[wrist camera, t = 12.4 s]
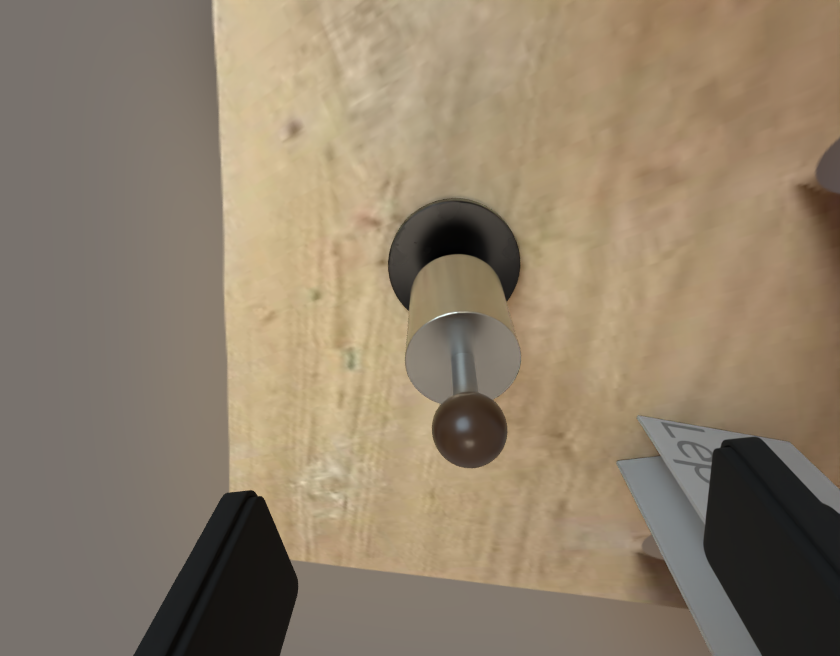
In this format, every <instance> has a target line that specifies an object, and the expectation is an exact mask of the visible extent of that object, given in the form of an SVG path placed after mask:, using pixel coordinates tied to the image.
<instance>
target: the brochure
mask: <svg viewBox="0 0 840 656" xmlns="http://www.w3.org/2000/svg"><path fill="white" fill-rule="evenodd" d="M637 419H638V421H639V422H640V424H641V425H642V427H643V429H644V430H645V432H646V433H647V435H648V436H649V438H650V440H651V441H652V443H653V444H654V446H655V447H656V449H657V450H658V452H659V454H660V455H661V456H657V457H648V458H639V459H630V460H620V461H617V463H616V464H617V466H618V468H619V470H620V472H621V474H622V476H623V478H624V480H625V482H626V484H627V486H628V488H629V490H630V492H631V494H632V496H633V498H634V500H635V502H636V504H637V506H638V508H639V510H640V512H641V514H642V516H643V518H644V520H645V522H646V524H647V526H648V528H649V530H650V532H651V534H652V536H653V538H654V540H655V542H656V544H657V546H658V548H659V550H660V552H661V554H662V556H663V558H664V560H665V562H666V564H667V566H668V568H669V570H670V572H671V574H672V576H673V578H674V580H675V582H676V584H677V586H678V588H679V590H680V592H681V594H682V596H683V598H684V600H685V602H686V604H687V606H688V608H689V610H690V612H691V614H692V616H693V618H694V620H695V622H696V624H697V626H698V628H699V630H700V632H701V634H702V636H703V638H704V640H705V642H706V644H707V646H708V648H709V650H710V652H711V654H712V656H762V655H761V653H760V651H759V650H758V648H757V646H756V645H755V643H754V641H753V639H752V638H751V636H750V634H749V632H748V631H747V629H746V627H745V625H744V624H743V622H742V620H741V618H740V617H739V615H738V613H737V611H736V610H735V608H734V606H733V605H732V603H731V601H730V599H729V598H728V596H727V594H726V592H725V591H724V589H723V587H722V585H721V584H720V582H719V580H718V578H717V577H716V575H715V573H714V571H713V570H712V568H711V566H710V565H709V563H708V561H707V558H706V556H705V552H704V547H703V539H704V530H705V520H706V511H707V502H708V492H709V483H710V474H711V464H712V455H713V451H714V449H716V448H720V447H721V443H722V442H723V440H727V439H736V438H745V437H754V436H753V435H747V434H741V433H736V432H730V431H724V430H719V429H713V428H707V427H701V426H696V425H690V424H684V423H679V422H673V421H667V420H662V419H656V418H650V417H644V416H639V415H638V416H637ZM756 437H759V436H756ZM759 438H761V439H762V440H763V441H764V442H765V443H766V444H767V445H768V446H769V447H770V448H771V449H772V450H773V451H774V452H775V454H776V455H777V456H778V457H779V458H780V459H781V460H782V461H783V462H784V463H785V464H786V465H787V466H788V467H789V468H790V469H791V471H792V472H793V473H794V474H795V475H796V476H797V477H798V478H799V479H800V480H801V481H802V482H803V483H804V484H805V485H806V486H807V488H808V489H809V490H810V491H811V492H812V493H813V494H814V495H815V496H816V497H817V498H818V499H819V500H820V501H821V502H822V503H824V504H826V505H828V506H830V507H832V508H833V509H834V510H836V511H837V512H838V513H839V514H840V490H839V489H838V488H837V487H836V486H835V485H834V484H833V483H832V482H831V481H830V480H829V479H828V478H827V477H826V476H825V475H824V474H823V473H822V472H821V471H820V470H818V469H817V468H816V467H815V466H814V465H813V464H812V463H811V462H810V461H809V460H808V459H807V458H806V457H805V456H804V455H803V454H802V453H801V452H800V451H799V450H797V449H796V448H795V447H794V446H793V445H792V444H791V443H790V442H787V441H781V440H776V439H770V438H764V437H759Z"/></svg>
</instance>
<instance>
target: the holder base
mask: <svg viewBox="0 0 840 656" xmlns="http://www.w3.org/2000/svg"><path fill="white" fill-rule="evenodd" d="M454 254H463V255H469V256H473V257H476V258H478V259H480V260H482V261H484V262H485V263H487V264H488V265H489V266H490V267H491V268H492V269H493V270H494V271H495V273H496V274H497V275H498V277H499V279H500V282H501V285H502V288H503V292H504V295H505V299H506V302H507V300H508V299H509V298H510V296H511V294H512V293H513V291H514V289H515V286H516V284H517V281H518V277H519V272H520V254H519V249H518V245H517V242H516V240H515V238H514V235H513V233H512V232H511V230H510V228H509V227H508V225H507V224H506V222H505V221H504V220H503V219H502V218H501V217H500V216H499V215H498V214H497V213H496V212H494V211H493V210H492V209H490V208H488V207H487V206H485V205H483V204H481V203H478V202H475V201H472V200H467V199H459V198H451V199H443V200H438V201H435V202H432V203H429V204H427V205H425V206H423V207H421V208H419V209H418V210H417V211H415V212H414V213H413V214H411V215H410V216H409V217H408V218H407V219H406V220H405V221H404V223H403V224H402V225H401V227H400V228H399V230H398V232H397V233H396V235H395V238H394V240H393V242H392V245H391V249H390V253H389V260H388V271H389V278H390V281H391V285H392V287H393V290H394V292H395V294H396V296H397V297H398V299H399V300H400V302H401V303H402V304H403V306H404V307H405V308H406V309H407V310H408V311H409V306H410V295H411V288H412V285H413V282H414V280H415V278H416V276H417V275H418V273H419V272H420V271H421V270H422V269H423V268H424V267H425V266H426V265H427V264H429V263H430V262H432V261H433V260H435V259H437V258H440V257H443V256H447V255H454Z"/></svg>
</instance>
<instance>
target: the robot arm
mask: <svg viewBox="0 0 840 656" xmlns="http://www.w3.org/2000/svg"><path fill="white" fill-rule="evenodd" d="M703 547H704V552H705V556H706V558H707V561H708V563H709V565H710V566H711V568H712V570H713V571H714V573H715V575H716V577H717V578H718V580H719V582H720V584H721V585H722V587H723V589H724V591H725V592H726V594H727V596H728V598H729V599H730V601H731V603H732V605H733V606H734V608H735V610H736V611H737V613H738V615H739V617H740V618H741V620H742V622H743V624H744V625H745V627H746V629H747V631H748V632H749V634H750V636H751V638H752V639H753V641H754V643H755V645H756V646H757V648H758V650H759V651H760V653H761V655H762V656H840V514H839V513H838V512H837V511H836V510H834V509H833V508H832V507H830V506H828V505H826V504H824V503H822V502H821V501H820V500H819V499H818V498H817V497H816V496H815V495H814V494H813V493H812V492H811V491H810V490H809V489H808V488H807V486H806V485H805V484H804V483H803V482H802V481H801V480H800V479H799V478H798V477H797V476H796V475H795V474H794V473H793V472H792V471H791V469H790V468H789V467H788V466H787V465H786V464H785V463H784V462H783V461H782V460H781V459H780V458H779V457H778V456H777V455H776V454H775V452H774V451H773V450H772V449H771V448H770V447H769V446H768V445H767V444H766V443H765V442H764V441H763V440H762V439H761V438H759V437H756V436H754V437H745V438H736V439H727V440H723V442H722V443H721V447H720V448H716V449H714V451H713V455H712V464H711V474H710V483H709V492H708V502H707V511H706V520H705V530H704V539H703ZM297 593H298V579H297V576H296V573H295V571H294V569H293V566H292V564H291V561H290V559H289V557H288V554H287V552H286V550H285V547H284V545H283V542H282V540H281V538H280V535H279V533H278V531H277V528H276V526H275V523H274V521H273V519H272V516H271V514H270V512H269V509H268V507H267V504H266V502H265V500H264V498H263V497H262V496H257V494H256V493H255V492H254V491H252V490H249V491H240V492H231V493H226V494H224V495H223V497H222V498H221V500H220V501H219V503H218V505H217V507H216V509H215V511H214V512H213V514H212V516H211V518H210V519H209V521H208V523H207V525H206V527H205V528H204V530H203V532H202V534H201V536H200V537H199V539H198V541H197V543H196V545H195V547H194V548H193V550H192V552H191V554H190V556H189V557H188V559H187V561H186V563H185V564H184V566H183V568H182V570H181V571H180V573H179V574H178V577H177V578H176V580H175V582H174V583H173V585H172V587H171V589H170V591H169V592H168V594H167V596H166V598H165V600H164V601H163V603H162V605H161V607H160V609H159V611H158V612H157V614H156V616H155V618H154V619H153V621H152V623H151V625H150V627H149V629H148V630H147V632H146V634H145V636H144V638H143V639H142V641H141V643H140V645H139V646H138V648H137V650H136V652H135V654H134V655H133V656H280V653H281V649H282V646H283V642H284V639H285V635H286V631H287V629H288V625H289V622H290V618H291V615H292V611H293V608H294V605H295V601H296V598H297Z"/></svg>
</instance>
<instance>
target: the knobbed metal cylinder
mask: <svg viewBox="0 0 840 656" xmlns="http://www.w3.org/2000/svg"><path fill="white" fill-rule="evenodd" d="M520 364H521V351H520V346H519V343H518V340H517V336H516V333H515V329H514V326H513V322H512V319H511V316H510V312H509V309H508V305H507V302H506V299H505V295H504V292H503V288H502V285H501V282H500V279H499V277H498V275H497V274H496V273H495V271H494V270H493V269H492V268H491V267H490V266H489V265H488V264H487V263H485V262H484V261H482V260H480V259H478V258H476V257H473V256H469V255H463V254H454V255H447V256H443V257H440V258H437V259H435V260H433V261H432V262H430V263H429V264H427V265H426V266H425V267H424V268H423V269H422V270H421V271H420V272H419V273H418V275H417V276H416V278H415V280H414V282H413V285H412V288H411V295H410V306H409V318H408V329H407V341H406V352H405V366H406V371H407V374H408V377H409V379H410V381H411V382H412V384H413V385H414V387H415V388H416V389H417V390H418V391H419V392H420V393H422V394H423V395H424V396H425V397H427V398H429V399H430V400H432V401H434V402H437V403H440V404H441V405H440V406H439V408H438V409H437V411H436V413H435V415H434V418H433V422H432V435H433V440H434V443H435V445H436V447H437V449H438V451H439V452H440V453H441V455H442V456H443V457H444V458H445V459H446V460H448V461H449V462H451V463H452V464H454V465H457V466H459V467H463V468H478V467H482V466H484V465H486V464H488V463H490V462H492V461H493V460H494V459H495V458H496V457H497V456H498V455H499V454H500V452H501V451H502V449H503V447H504V445H505V443H506V439H507V423H506V419H505V416H504V414H503V412H502V410H501V408H500V407H499V406H498V405H497V404H496V402H494V401H493V399H495V398H496V397H498V396H499V395H501V394H502V393H503V392H505V391H506V390H507V389H508V388H509V387H510V385H511V384H512V383H513V381H514V380H515V378H516V376H517V374H518V372H519V368H520Z"/></svg>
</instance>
